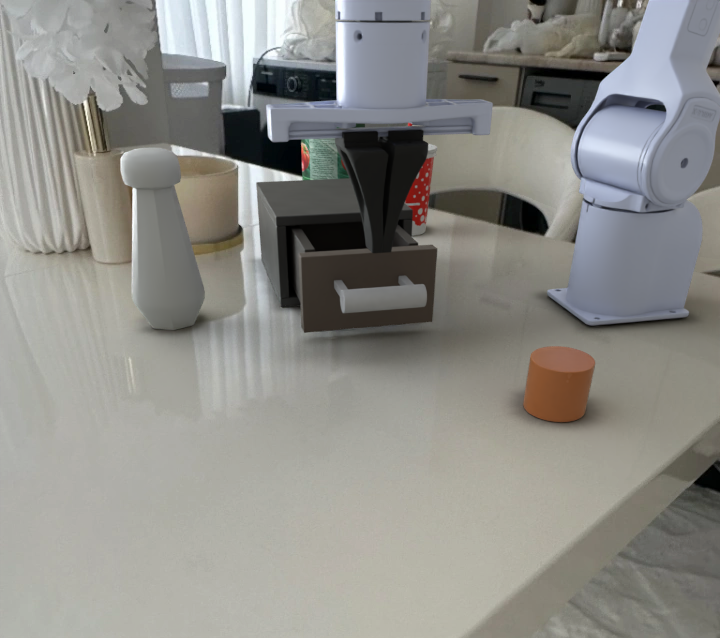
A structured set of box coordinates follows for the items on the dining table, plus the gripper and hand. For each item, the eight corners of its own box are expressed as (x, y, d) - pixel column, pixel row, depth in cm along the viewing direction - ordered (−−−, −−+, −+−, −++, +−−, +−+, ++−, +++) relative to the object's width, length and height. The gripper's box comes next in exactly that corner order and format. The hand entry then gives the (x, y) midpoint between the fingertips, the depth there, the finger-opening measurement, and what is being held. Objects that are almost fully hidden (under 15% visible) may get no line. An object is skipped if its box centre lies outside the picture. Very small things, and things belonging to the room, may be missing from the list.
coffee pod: (567, 391, 49) (576, 343, 47) (596, 418, 46) (607, 368, 44) (513, 397, 48) (520, 348, 46) (539, 425, 45) (547, 374, 43)
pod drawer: (452, 344, 53) (458, 267, 50) (315, 357, 51) (312, 277, 48) (390, 273, 67) (392, 209, 64) (280, 281, 65) (276, 215, 62)
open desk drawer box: (409, 297, 64) (413, 209, 60) (280, 307, 62) (275, 216, 57) (371, 254, 75) (372, 177, 71) (261, 261, 73) (256, 181, 68)
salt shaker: (191, 337, 56) (167, 158, 49) (124, 331, 57) (91, 155, 50) (218, 311, 61) (200, 145, 54) (155, 305, 62) (129, 142, 55)
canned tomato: (370, 215, 89) (371, 116, 83) (307, 217, 87) (304, 117, 81) (358, 200, 95) (359, 108, 89) (299, 202, 94) (296, 109, 88)
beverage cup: (369, 232, 82) (371, 94, 74) (395, 221, 86) (400, 90, 79) (416, 240, 79) (423, 98, 72) (440, 228, 84) (450, 93, 76)
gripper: (471, 19, 48) (455, 228, 55) (254, 19, 45) (269, 239, 52) (515, 22, 42) (490, 254, 50) (269, 22, 39) (283, 269, 47)
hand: (378, 249), depth 51 cm, fingers closed
